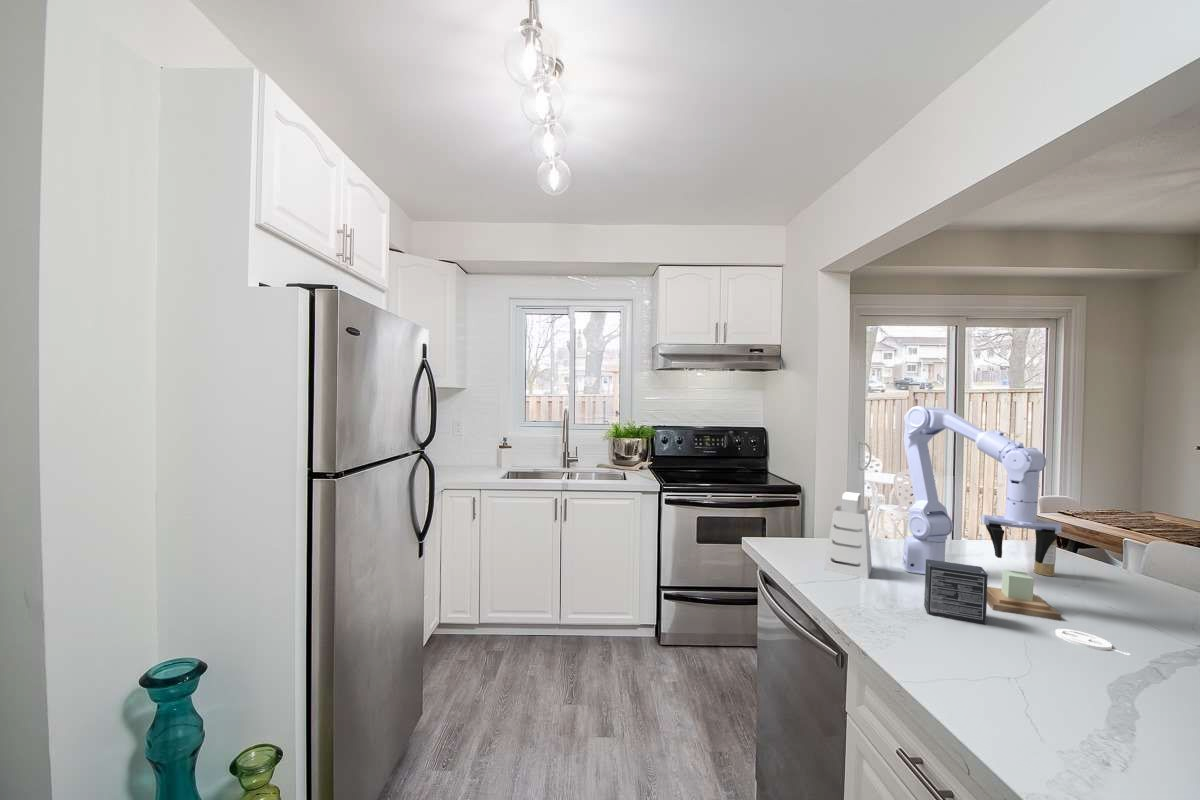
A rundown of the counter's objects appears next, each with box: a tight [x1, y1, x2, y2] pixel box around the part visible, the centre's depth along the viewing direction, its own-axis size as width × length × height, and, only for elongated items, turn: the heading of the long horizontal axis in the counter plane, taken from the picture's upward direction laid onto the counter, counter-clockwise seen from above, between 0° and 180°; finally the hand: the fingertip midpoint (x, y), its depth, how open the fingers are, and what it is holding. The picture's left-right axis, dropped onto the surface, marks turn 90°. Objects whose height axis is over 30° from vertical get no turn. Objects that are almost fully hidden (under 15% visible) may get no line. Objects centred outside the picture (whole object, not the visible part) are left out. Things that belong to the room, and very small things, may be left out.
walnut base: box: [987, 586, 1062, 621], centre depth 122 cm, size 12×12×2 cm
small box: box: [923, 559, 989, 625], centre depth 115 cm, size 11×6×10 cm, turn 65°
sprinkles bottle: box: [1033, 532, 1058, 577], centre depth 146 cm, size 5×5×14 cm
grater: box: [823, 491, 873, 579], centre depth 143 cm, size 10×10×20 cm
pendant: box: [1054, 628, 1132, 657], centre depth 103 cm, size 7×11×1 cm, turn 37°
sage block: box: [1001, 569, 1035, 601], centre depth 122 cm, size 4×4×5 cm
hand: (1018, 559), depth 123 cm, fingers open, 7 cm apart
